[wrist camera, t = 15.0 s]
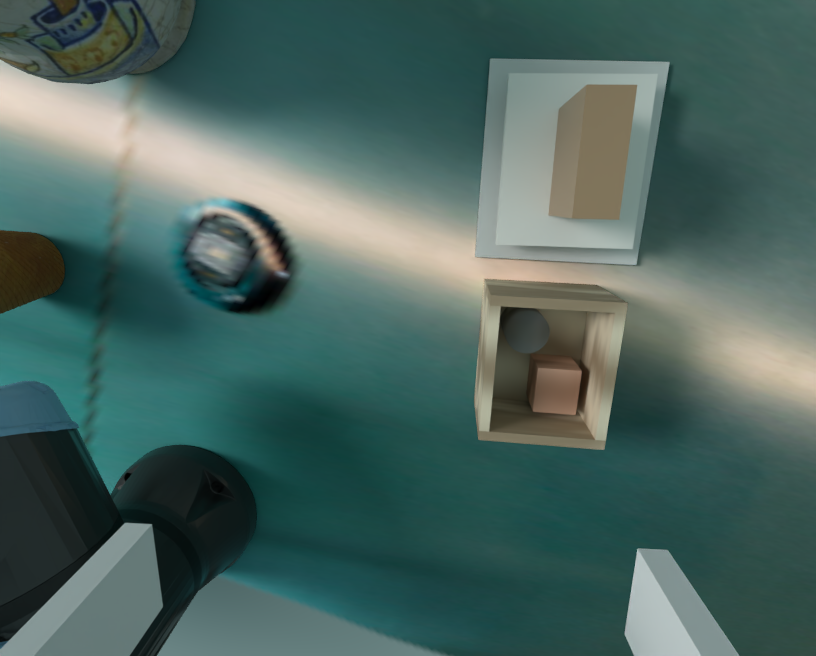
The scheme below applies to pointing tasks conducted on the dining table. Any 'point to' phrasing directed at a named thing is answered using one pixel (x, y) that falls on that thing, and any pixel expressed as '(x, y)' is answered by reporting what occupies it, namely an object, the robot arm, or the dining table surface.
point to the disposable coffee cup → (27, 268)
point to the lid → (573, 158)
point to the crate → (547, 362)
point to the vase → (91, 36)
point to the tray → (494, 156)
